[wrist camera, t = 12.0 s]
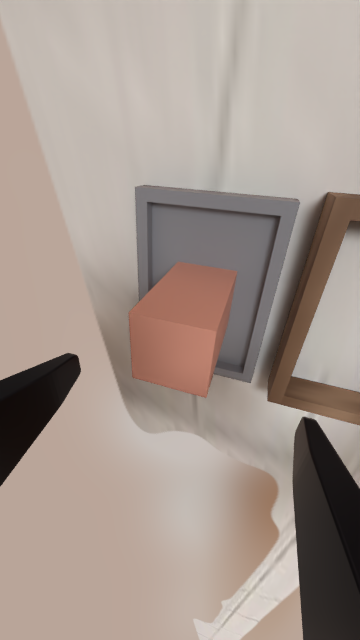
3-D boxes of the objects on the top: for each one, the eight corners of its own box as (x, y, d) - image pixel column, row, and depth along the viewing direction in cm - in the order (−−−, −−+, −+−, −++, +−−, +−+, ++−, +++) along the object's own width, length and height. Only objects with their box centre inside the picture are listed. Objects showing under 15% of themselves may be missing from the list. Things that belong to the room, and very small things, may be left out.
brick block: (237, 271, 18) (216, 331, 12) (228, 323, 21) (206, 397, 14) (178, 261, 19) (128, 312, 13) (175, 312, 22) (132, 377, 15)
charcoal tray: (298, 198, 16) (300, 202, 14) (252, 371, 23) (250, 383, 22) (144, 185, 18) (135, 186, 17) (147, 346, 25) (141, 355, 24)
